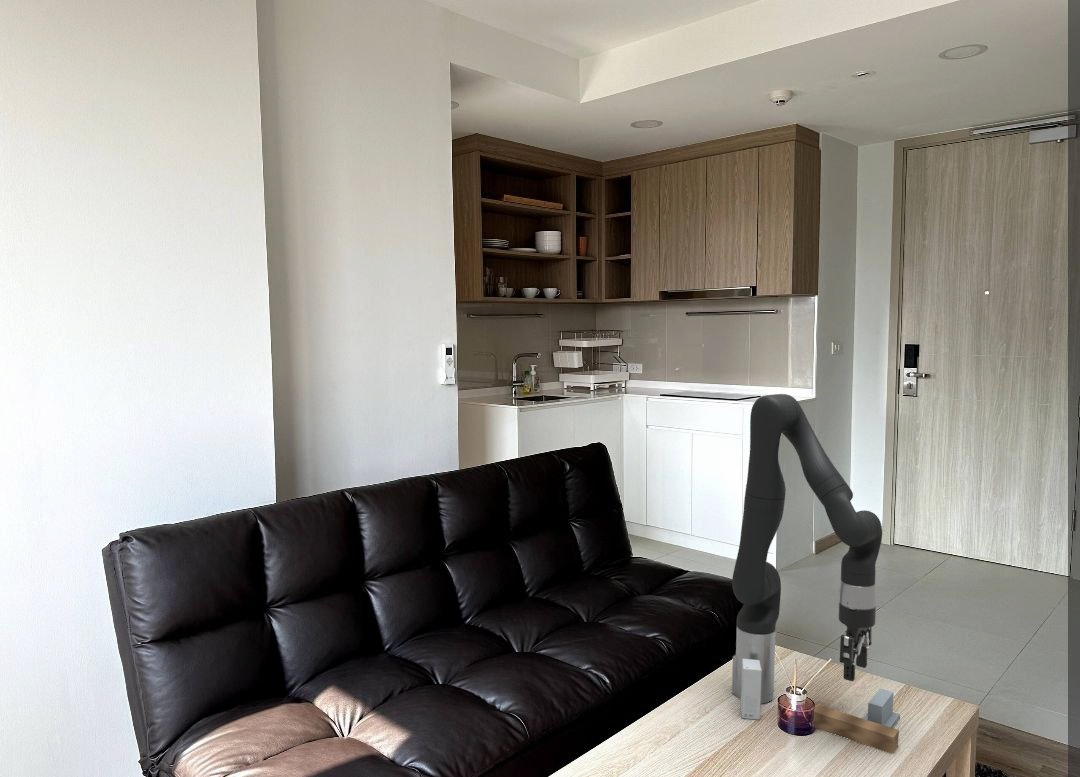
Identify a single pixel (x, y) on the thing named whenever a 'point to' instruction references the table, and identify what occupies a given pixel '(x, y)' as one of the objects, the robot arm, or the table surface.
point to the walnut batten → (856, 729)
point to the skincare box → (750, 689)
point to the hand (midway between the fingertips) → (855, 673)
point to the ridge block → (882, 709)
